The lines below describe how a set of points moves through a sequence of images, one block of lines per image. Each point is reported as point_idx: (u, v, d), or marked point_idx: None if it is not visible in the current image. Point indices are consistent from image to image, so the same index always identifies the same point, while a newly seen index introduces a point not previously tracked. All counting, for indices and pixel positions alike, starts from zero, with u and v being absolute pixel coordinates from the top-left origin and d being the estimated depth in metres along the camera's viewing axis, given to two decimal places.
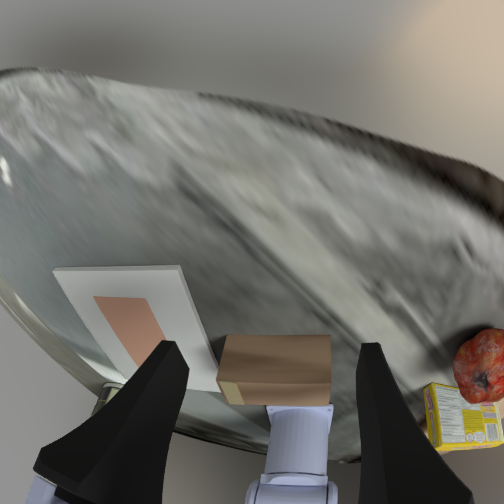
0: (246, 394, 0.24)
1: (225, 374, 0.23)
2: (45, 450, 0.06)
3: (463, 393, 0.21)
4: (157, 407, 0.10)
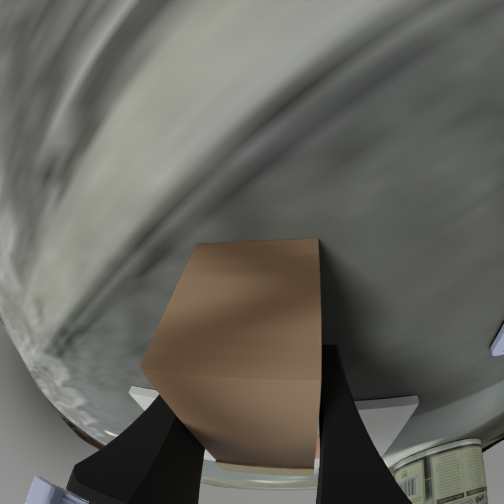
0: (263, 462, 0.10)
1: None
2: (80, 468, 0.06)
3: None
4: None
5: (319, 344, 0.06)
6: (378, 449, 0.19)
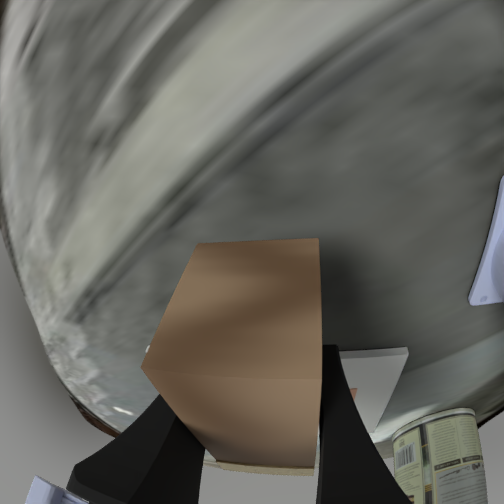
0: (263, 462, 0.10)
1: None
2: (80, 468, 0.06)
3: None
4: None
5: (319, 344, 0.06)
6: (375, 410, 0.22)
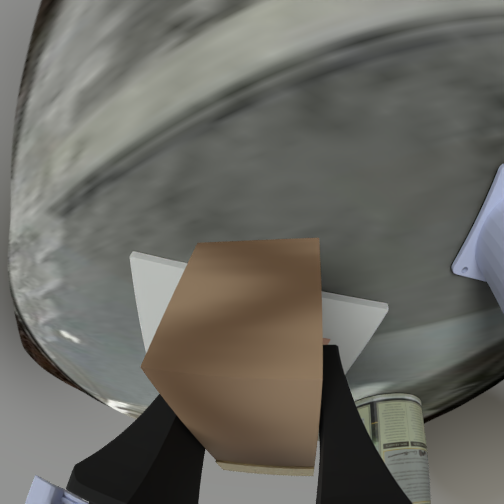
0: (263, 462, 0.10)
1: None
2: (80, 468, 0.06)
3: None
4: None
5: (320, 343, 0.06)
6: None
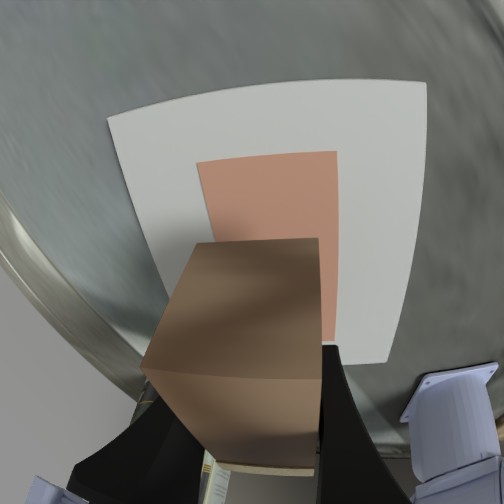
0: (263, 462, 0.10)
1: None
2: (79, 468, 0.06)
3: None
4: None
5: (319, 343, 0.06)
6: None
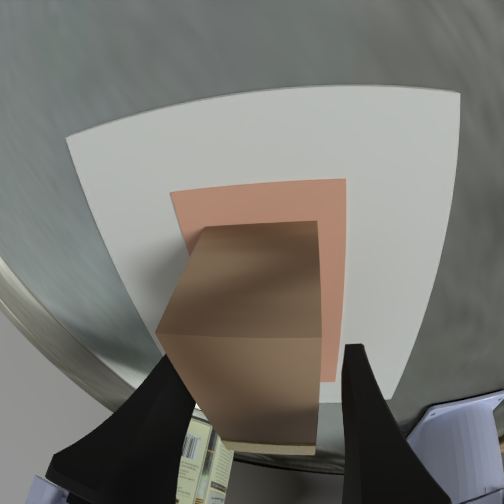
0: (267, 439, 0.11)
1: None
2: (58, 457, 0.06)
3: None
4: (172, 410, 0.10)
5: (319, 308, 0.07)
6: None
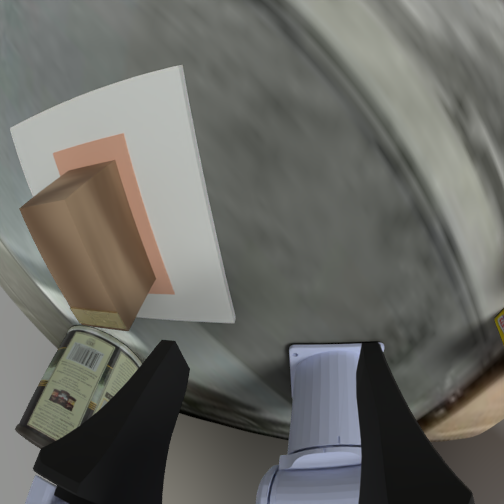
0: (89, 304, 0.17)
1: None
2: (45, 450, 0.06)
3: None
4: (157, 407, 0.10)
5: (74, 190, 0.13)
6: None
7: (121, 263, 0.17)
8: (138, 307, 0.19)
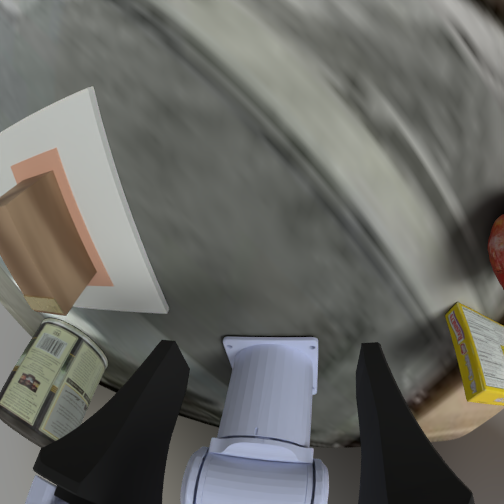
0: (35, 291, 0.18)
1: None
2: (45, 450, 0.06)
3: None
4: (157, 407, 0.10)
5: (14, 197, 0.14)
6: (87, 302, 0.26)
7: (58, 257, 0.18)
8: (76, 296, 0.20)
